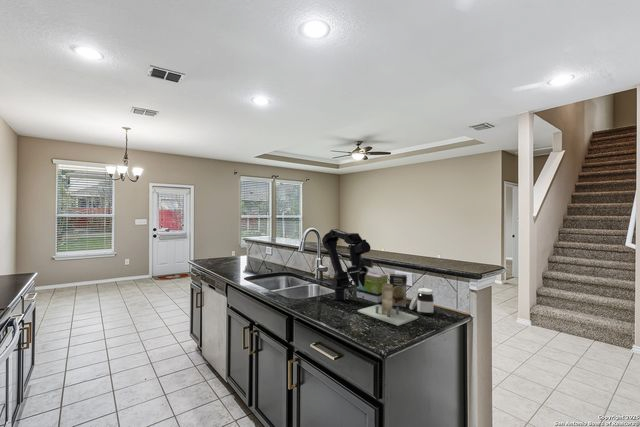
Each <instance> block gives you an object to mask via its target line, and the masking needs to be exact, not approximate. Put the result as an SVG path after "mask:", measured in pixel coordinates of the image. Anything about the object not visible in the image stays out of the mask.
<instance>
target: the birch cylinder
mask: <svg viewBox="0 0 640 427" xmlns="http://www.w3.org/2000/svg"><path fill="white" fill-rule="evenodd" d="M392 298H393V285H392V284H390V283H388V282H387V283H384V284H382V302H381V305H382V314H384V315H387V310H390V315H392V309H393V306H392Z"/></svg>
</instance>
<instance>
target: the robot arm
mask: <svg viewBox="0 0 640 427" xmlns="http://www.w3.org/2000/svg"><path fill="white" fill-rule="evenodd" d="M321 239H322V240H321V242H322V244H323V248H324V249H326V251H328V255H329V258H330V262H331V265H332V268H333V272H334V274H333V277H332V278H333V281H332V282H331V284H330V288H331V290H334V297H333V301H342V302H344V301H345V300H346V298H347V297H346V296H345V294H346V293H345V291H346V289H349V286H350V282H351V281H350V278H351V280H352V281H353V283H354V284H355V287H356V288H357V287H359V281H360V283H361V285H362V287H363V286H364V285H365V276H366V274H368V272H369V271H370V270H369V268H370V269H373V268H374V264H375V263H374V261H373V260H372V259H367V260H364V258H363V257H362V255H365V254H367V253H369V252H370V251H371V248H372V247H371V245H370V243H369V242H368V241H367V239H362V236H360V233H359V232H352V233H351V232H346V231H343V230H340V229H338V228H336V229H330V230H329V232H327V233H325V234H324V236H323V237H322V238H321ZM340 239H341V240H343V241H344V242H345V243H346V244H347V245H348V246H347V247H346V250H347V251H348V252H349V256H350V258H349V261H350V263H351V264H350V266H347V267H346V271H345V270H344V269H343V266H342V263H341V260H340V257H339V253H338V250H337V247H338V241H339V240H340ZM365 272H366V273H365ZM345 302H346V301H345Z"/></svg>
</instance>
